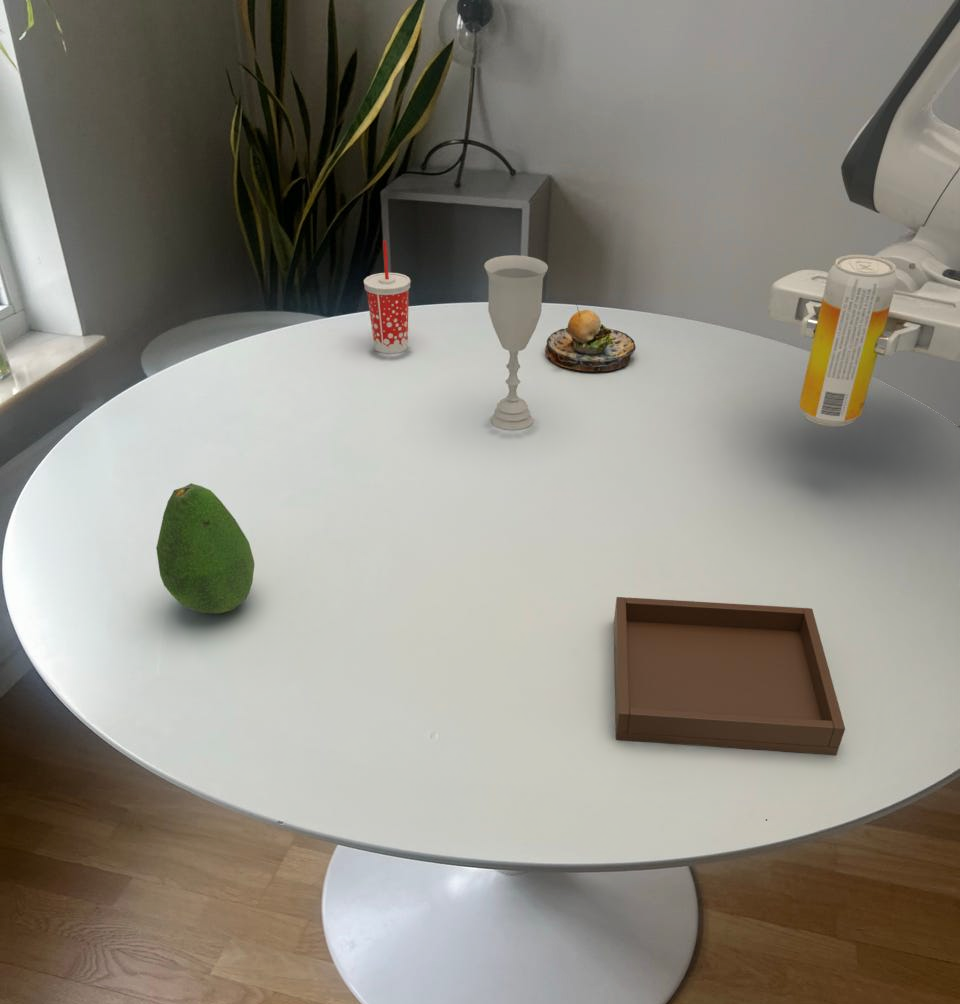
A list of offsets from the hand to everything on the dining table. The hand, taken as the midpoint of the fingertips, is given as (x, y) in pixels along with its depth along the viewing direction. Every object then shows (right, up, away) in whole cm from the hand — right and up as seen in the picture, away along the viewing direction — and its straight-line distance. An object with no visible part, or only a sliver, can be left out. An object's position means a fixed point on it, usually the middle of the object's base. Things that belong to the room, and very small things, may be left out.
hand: (845, 338), depth 92 cm
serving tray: (-15, -32, -13) cm, 38 cm away
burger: (-20, +9, +38) cm, 44 cm away
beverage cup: (-47, +11, +40) cm, 63 cm away
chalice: (-31, -3, +23) cm, 39 cm away
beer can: (+1, -6, +6) cm, 9 cm away
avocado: (-59, -26, -5) cm, 64 cm away
